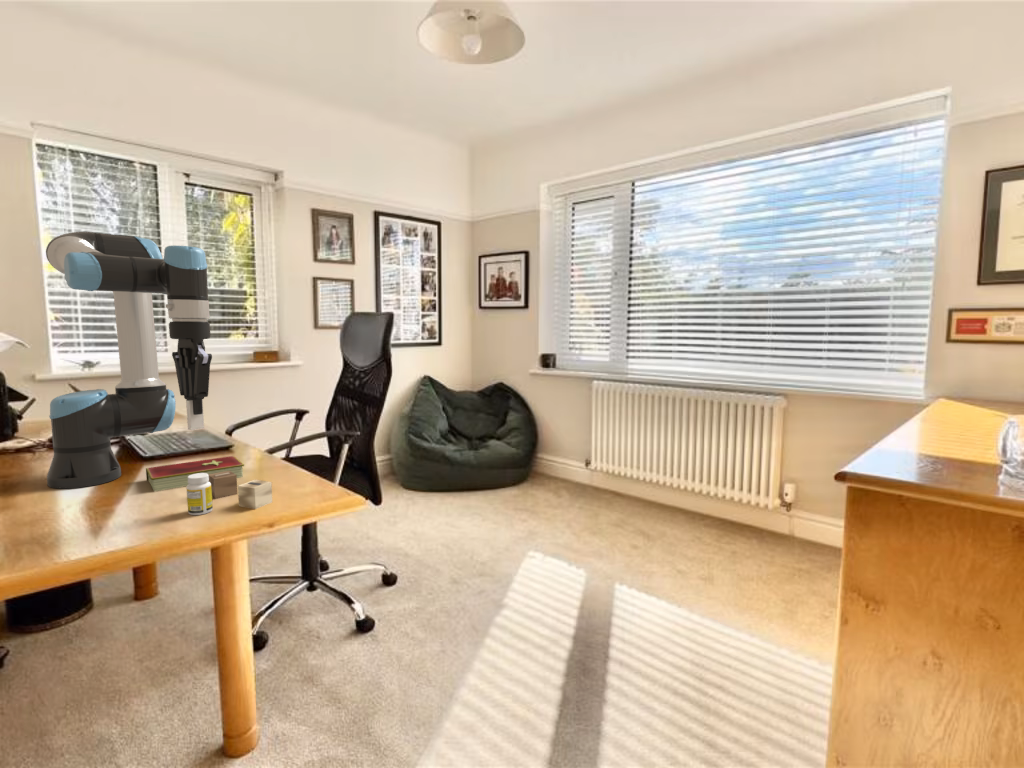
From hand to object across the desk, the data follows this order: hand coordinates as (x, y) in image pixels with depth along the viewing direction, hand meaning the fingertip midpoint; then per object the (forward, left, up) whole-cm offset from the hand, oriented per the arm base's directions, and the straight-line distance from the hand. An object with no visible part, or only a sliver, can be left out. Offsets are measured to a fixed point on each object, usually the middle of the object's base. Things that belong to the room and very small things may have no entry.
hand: (196, 428), depth 115 cm
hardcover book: (-26, +11, -20) cm, 35 cm away
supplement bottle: (0, 0, -19) cm, 19 cm away
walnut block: (-8, +9, -19) cm, 23 cm away
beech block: (+5, +10, -19) cm, 22 cm away
